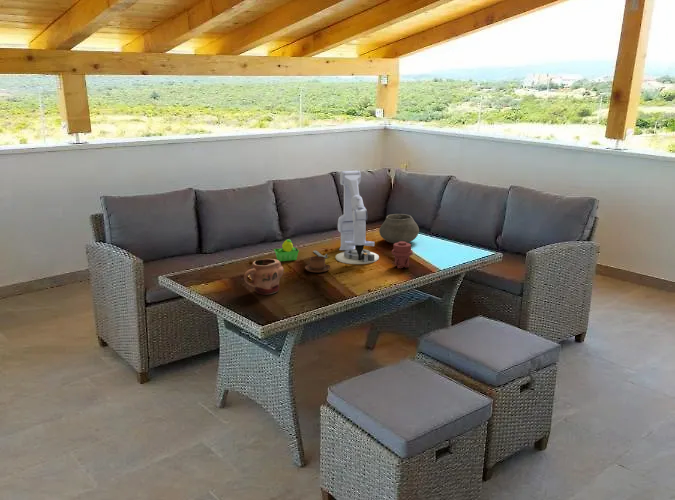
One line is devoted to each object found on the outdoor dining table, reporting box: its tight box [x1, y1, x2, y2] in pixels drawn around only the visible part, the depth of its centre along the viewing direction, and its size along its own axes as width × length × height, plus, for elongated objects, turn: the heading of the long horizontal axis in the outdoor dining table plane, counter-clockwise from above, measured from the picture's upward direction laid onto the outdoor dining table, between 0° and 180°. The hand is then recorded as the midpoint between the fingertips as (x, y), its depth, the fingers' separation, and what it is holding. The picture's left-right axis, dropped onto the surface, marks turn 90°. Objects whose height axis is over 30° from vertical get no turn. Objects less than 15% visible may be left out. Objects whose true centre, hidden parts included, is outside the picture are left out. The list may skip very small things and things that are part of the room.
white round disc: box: [335, 250, 380, 265], centre depth 309 cm, size 22×22×4 cm
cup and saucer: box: [304, 255, 331, 274], centre depth 289 cm, size 12×12×6 cm
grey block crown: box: [343, 248, 371, 262], centre depth 306 cm, size 13×17×4 cm
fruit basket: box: [273, 238, 300, 262], centre depth 305 cm, size 11×9×11 cm
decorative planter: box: [243, 258, 285, 296], centre depth 257 cm, size 20×12×14 cm, turn 139°
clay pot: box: [378, 213, 420, 245], centre depth 336 cm, size 22×21×15 cm
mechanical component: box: [391, 241, 414, 269], centre depth 292 cm, size 12×10×10 cm
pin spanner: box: [313, 249, 328, 259], centre depth 315 cm, size 13×3×2 cm, turn 20°
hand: (359, 259), depth 300 cm, fingers closed
